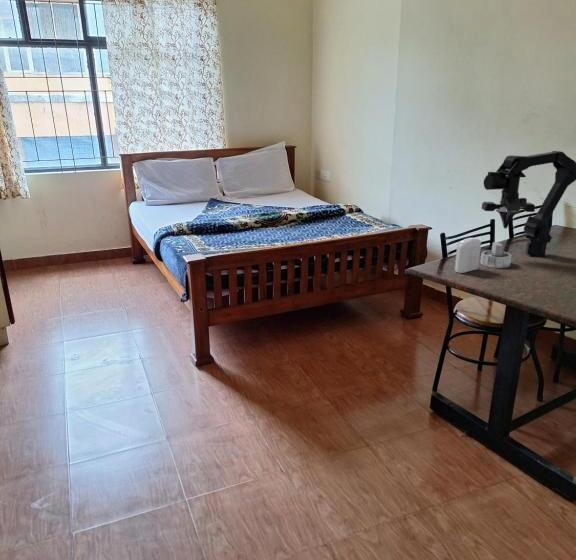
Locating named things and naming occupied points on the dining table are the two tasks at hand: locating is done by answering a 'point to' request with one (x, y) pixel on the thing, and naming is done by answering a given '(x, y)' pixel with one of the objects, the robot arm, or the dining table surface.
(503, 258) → the faceted white dish
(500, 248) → the grey knob
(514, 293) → the dining table surface
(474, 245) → the photo printer
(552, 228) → the dining table surface
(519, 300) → the dining table surface
